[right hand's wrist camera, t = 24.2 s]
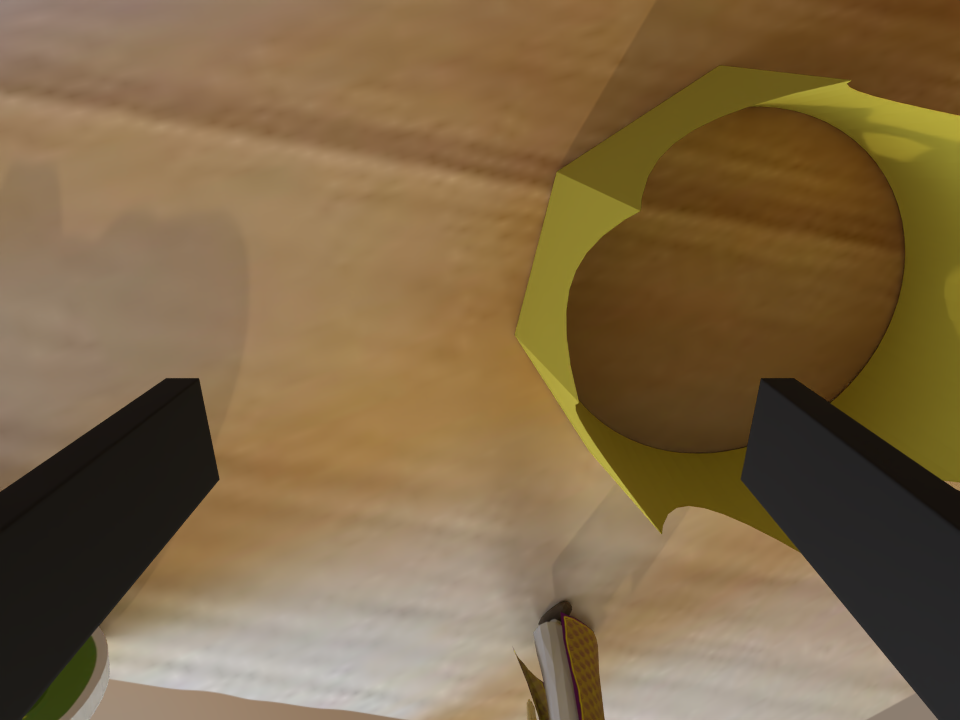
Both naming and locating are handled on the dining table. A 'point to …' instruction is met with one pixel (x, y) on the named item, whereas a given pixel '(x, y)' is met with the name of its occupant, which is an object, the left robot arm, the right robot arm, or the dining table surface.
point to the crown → (899, 357)
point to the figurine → (565, 669)
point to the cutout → (76, 684)
